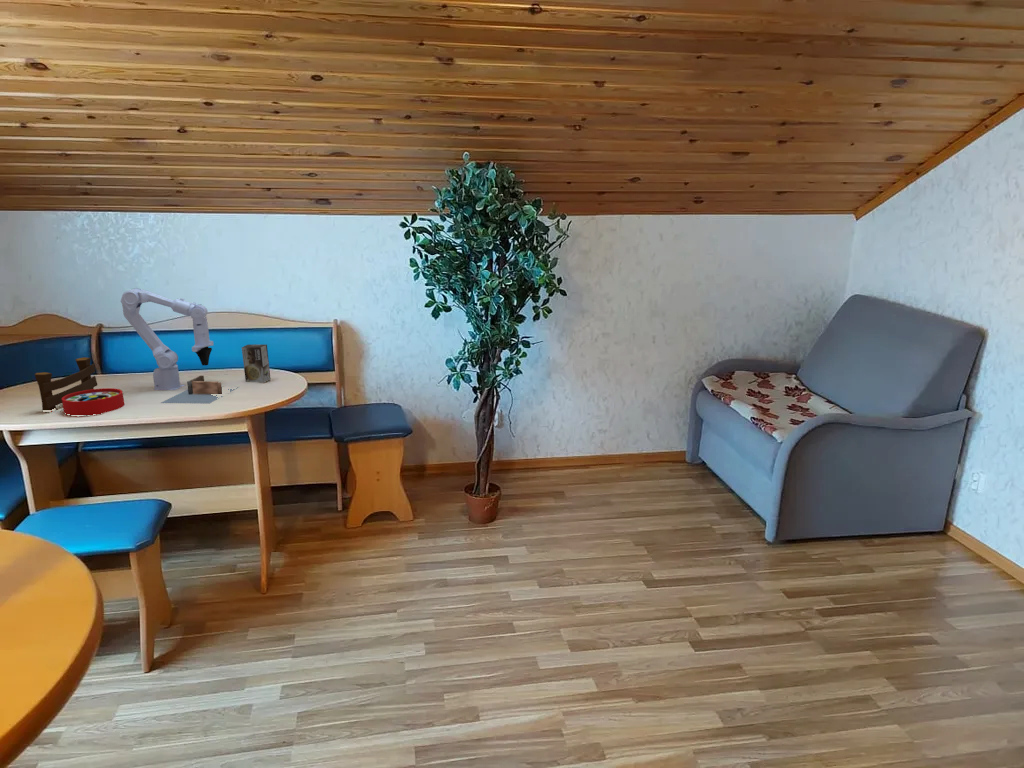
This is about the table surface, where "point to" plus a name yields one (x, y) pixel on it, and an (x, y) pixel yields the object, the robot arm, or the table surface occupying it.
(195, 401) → the board
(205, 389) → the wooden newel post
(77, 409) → the toy clock
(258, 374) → the coffee box
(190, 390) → the dark brown wooden bar
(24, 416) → the table surface
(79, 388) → the decorative fence
